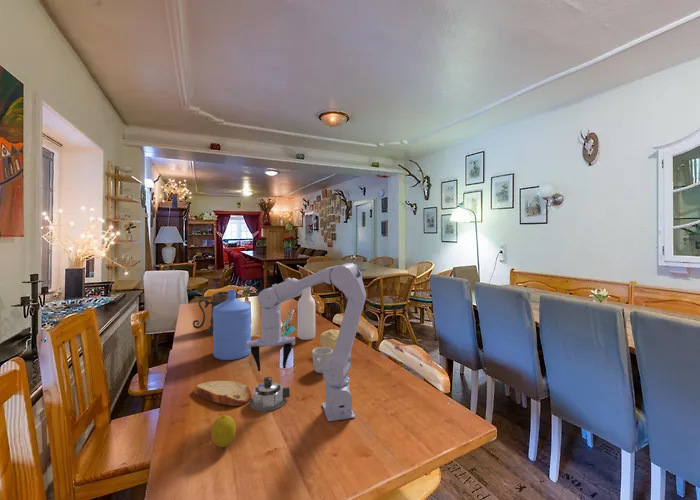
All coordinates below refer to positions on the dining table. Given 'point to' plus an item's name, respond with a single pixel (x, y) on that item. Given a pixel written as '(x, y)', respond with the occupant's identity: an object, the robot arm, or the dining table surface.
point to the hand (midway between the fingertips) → (271, 368)
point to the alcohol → (306, 315)
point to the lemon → (223, 431)
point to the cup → (321, 358)
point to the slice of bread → (224, 392)
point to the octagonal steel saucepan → (270, 397)
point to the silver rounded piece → (268, 387)
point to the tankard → (216, 300)
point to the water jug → (231, 328)
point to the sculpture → (329, 338)
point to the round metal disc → (266, 408)
